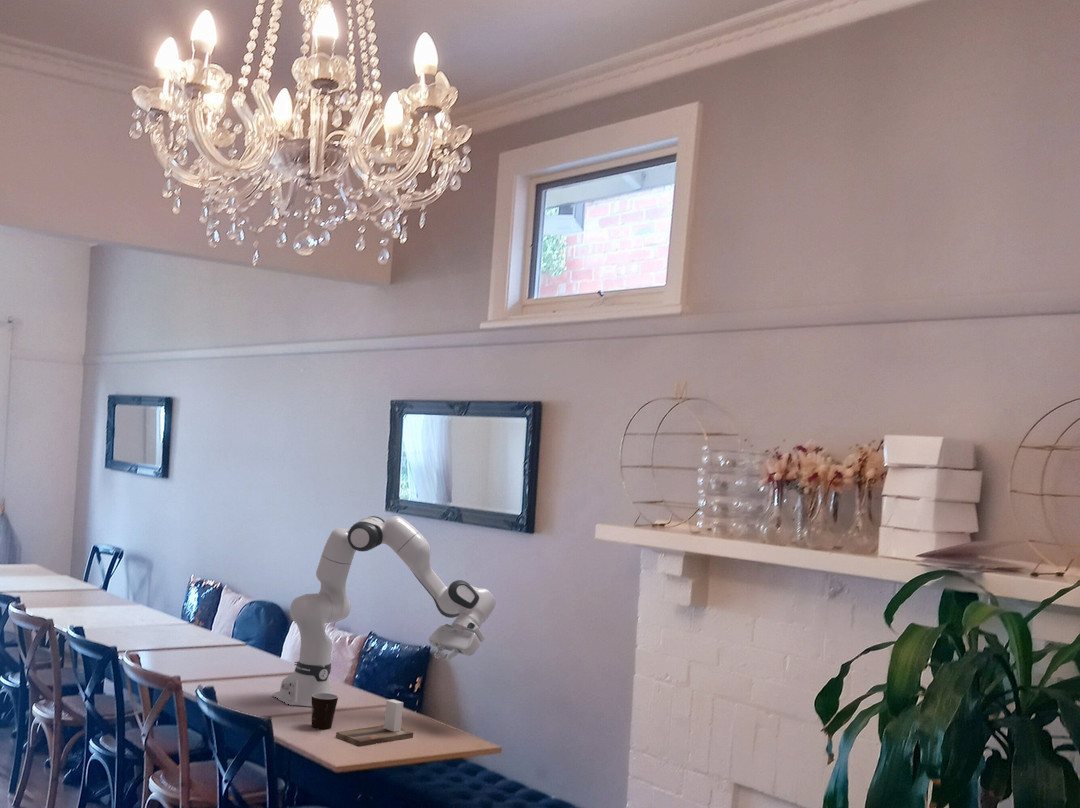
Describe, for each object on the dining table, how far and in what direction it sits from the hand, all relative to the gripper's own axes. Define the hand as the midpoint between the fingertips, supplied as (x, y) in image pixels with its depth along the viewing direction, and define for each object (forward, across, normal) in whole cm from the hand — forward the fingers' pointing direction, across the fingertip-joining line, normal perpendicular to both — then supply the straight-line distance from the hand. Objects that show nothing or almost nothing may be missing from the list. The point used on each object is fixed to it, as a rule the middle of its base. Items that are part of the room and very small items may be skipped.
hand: (440, 658), depth 346 cm
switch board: (+35, 0, -2) cm, 35 cm away
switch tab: (+29, 0, +2) cm, 29 cm away
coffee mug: (+41, -17, -8) cm, 45 cm away
